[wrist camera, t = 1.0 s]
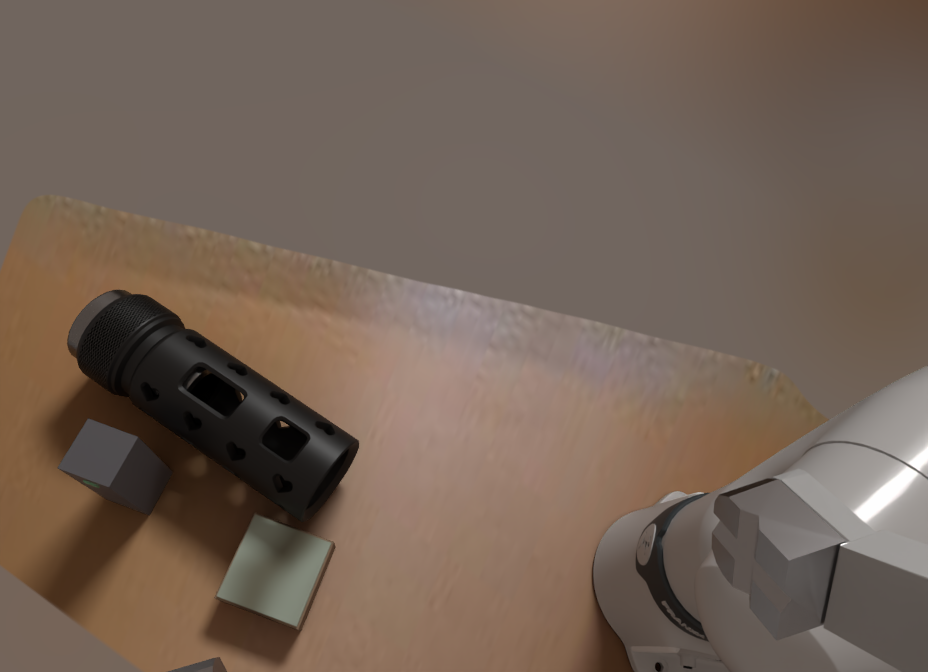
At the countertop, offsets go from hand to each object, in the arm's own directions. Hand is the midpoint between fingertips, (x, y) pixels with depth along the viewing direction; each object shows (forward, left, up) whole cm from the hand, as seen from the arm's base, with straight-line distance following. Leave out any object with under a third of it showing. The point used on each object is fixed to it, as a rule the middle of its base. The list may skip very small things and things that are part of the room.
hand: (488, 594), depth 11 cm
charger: (+28, -6, -60) cm, 66 cm away
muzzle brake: (+24, -15, -60) cm, 66 cm away
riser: (+12, -3, -60) cm, 61 cm away
